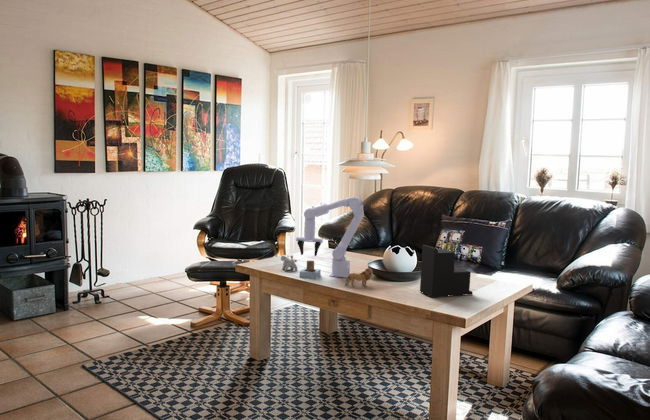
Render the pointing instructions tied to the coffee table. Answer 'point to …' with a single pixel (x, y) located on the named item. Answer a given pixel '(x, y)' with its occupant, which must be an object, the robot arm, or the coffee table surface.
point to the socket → (309, 273)
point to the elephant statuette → (288, 262)
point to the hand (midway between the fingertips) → (308, 255)
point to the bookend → (442, 274)
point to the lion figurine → (360, 277)
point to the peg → (310, 266)
